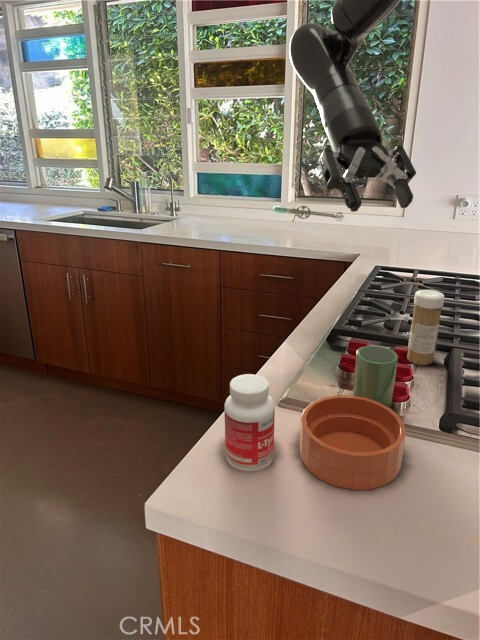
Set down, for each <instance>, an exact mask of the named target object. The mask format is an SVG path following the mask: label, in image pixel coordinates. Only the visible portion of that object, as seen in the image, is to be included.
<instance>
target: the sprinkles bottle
mask: <svg viewBox="0 0 480 640" xmlns="http://www.w3.org/2000/svg"><path fill="white" fill-rule="evenodd" d="M413 299H414V300H413V304H414V305H413V306H414V307H413V312H412V313H413V314H412V319H411V320H412V321H411V325H410V331H409V338H408V345H407V347H408V349H407V355H406V359H407V361H409V362H410V363H412V364H415V365H420V366H428V365H431V364H432V363H433V362H434V355H435V351H436V347H437V341H438V336H439V328H440V321H441V320H440V319H441V313H442V309H443V307H444V303H445V294H443V292H440V291H438V290H433V289H419V290H417V291H415V293H414V298H413Z"/></svg>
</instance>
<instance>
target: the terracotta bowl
mask: <svg viewBox="0 0 480 640" xmlns="http://www.w3.org/2000/svg"><path fill="white" fill-rule="evenodd" d="M299 431H300V433H299V453H300V459H301V461H302V463H303V464H304V466H305V468H306V469H307V470H308V472H310V473H311V474H313V475H314V476H315V477H316V478H317V479H319V480H320V481H323V482H325V483H327V484H329V485H331V486H334V487H338V488H342V489H347V490H351V491H354V490H355V491H359V490H360V491H366V490H367V491H369V490H373V489H377V488H381V487H384V486H386V485H388V484H390V482H393V480H395V479H396V477H397V476H398V475H399V473H400V471H401V468H402V461H403V454H404V448H405V442H406V425H405V424H404V421H403V419H402V418H401V416H399V414H397V412H395V411H394V410H393V409H392V408H391V407H390V408H388V407H386V406H385V405H383V404H381V403H379V402H376V401H373V400H370V399H367V398H363V397H357V396H353V395H351V394H350V395H349V394H348V395H347V394H346V395H343V394H341V395H340V394H339V395H336V394H335V395H330V396H325V397H321V398H318V399H317V400H315V401H312V402H310V403H309V404H308V406H306V407H305V408H304V409H303V411H302V414H301V417H300V430H299Z"/></svg>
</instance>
